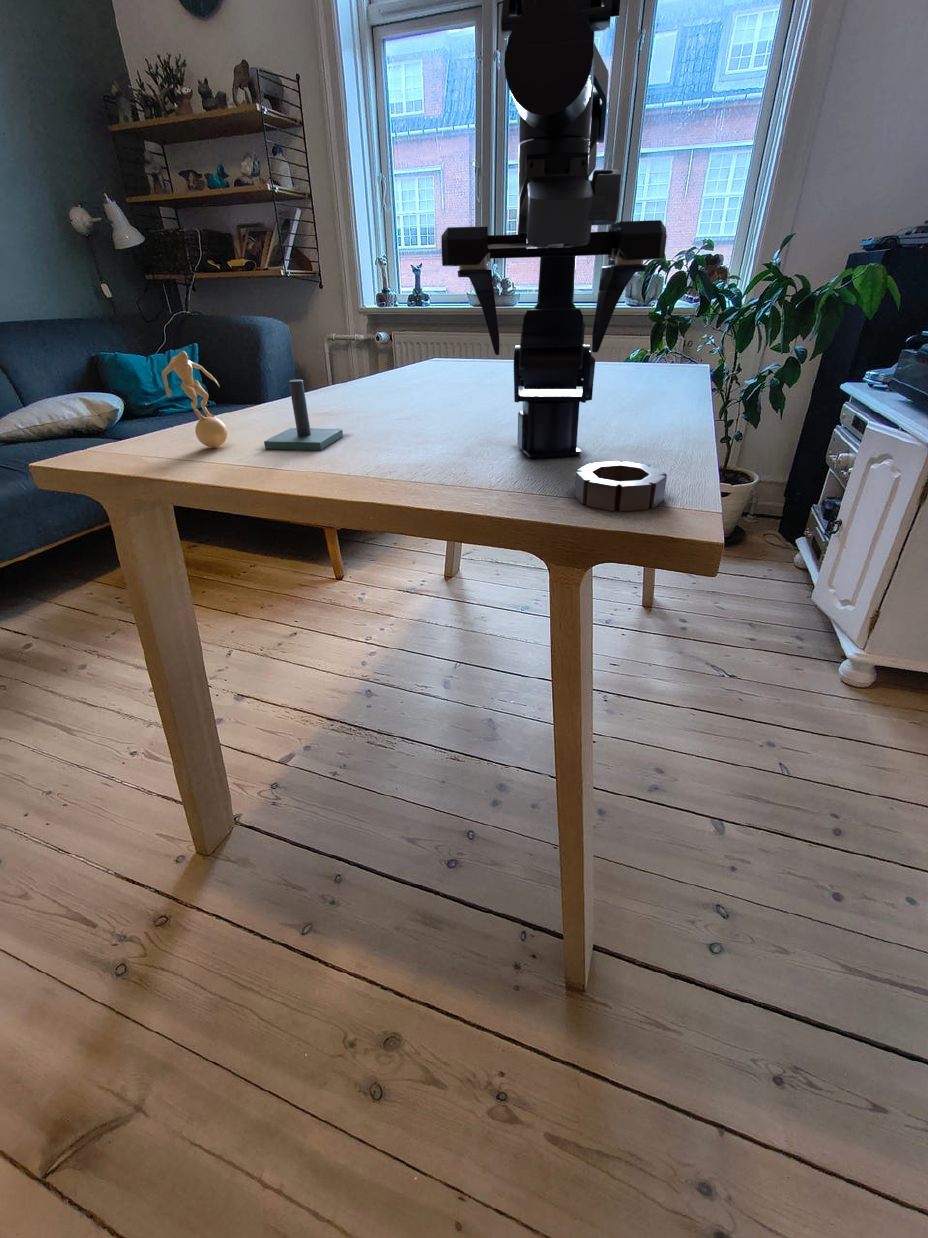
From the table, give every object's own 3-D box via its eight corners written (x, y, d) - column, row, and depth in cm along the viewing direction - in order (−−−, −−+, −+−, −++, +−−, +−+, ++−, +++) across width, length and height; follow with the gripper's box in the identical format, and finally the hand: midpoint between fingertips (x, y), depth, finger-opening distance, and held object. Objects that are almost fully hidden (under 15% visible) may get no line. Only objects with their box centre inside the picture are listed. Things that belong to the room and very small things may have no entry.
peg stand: (343, 435, 85) (335, 375, 81) (321, 450, 78) (311, 385, 74) (291, 434, 86) (281, 375, 82) (265, 448, 79) (252, 385, 75)
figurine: (200, 455, 77) (175, 355, 71) (169, 451, 79) (142, 354, 73) (248, 441, 83) (228, 347, 77) (217, 437, 86) (196, 346, 80)
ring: (641, 481, 62) (643, 459, 61) (676, 507, 55) (680, 482, 54) (565, 487, 62) (567, 464, 60) (591, 514, 55) (593, 488, 53)
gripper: (432, 127, 41) (442, 367, 49) (702, 116, 41) (669, 361, 49) (441, 155, 51) (448, 352, 59) (660, 146, 50) (638, 347, 58)
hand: (545, 353), depth 56 cm, fingers open, 9 cm apart
